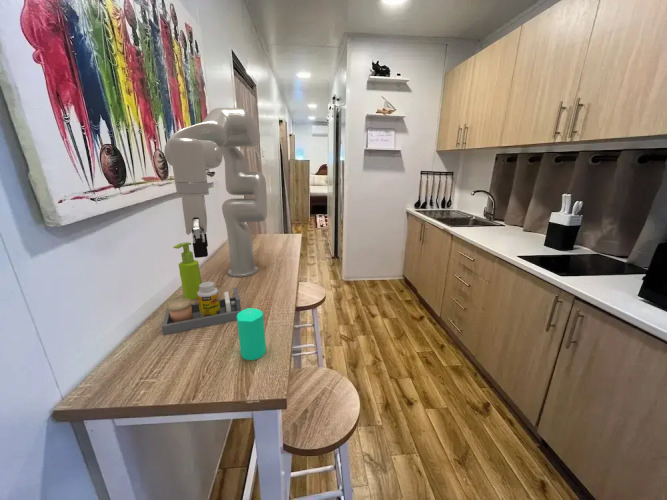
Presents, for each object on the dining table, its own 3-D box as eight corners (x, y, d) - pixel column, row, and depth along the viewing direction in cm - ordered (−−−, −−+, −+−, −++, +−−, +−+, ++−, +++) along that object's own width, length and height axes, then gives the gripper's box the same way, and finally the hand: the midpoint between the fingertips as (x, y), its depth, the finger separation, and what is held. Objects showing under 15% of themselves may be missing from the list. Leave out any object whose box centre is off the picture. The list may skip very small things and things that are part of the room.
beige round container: (172, 318, 81) (168, 300, 79) (194, 314, 83) (191, 296, 81) (170, 329, 76) (166, 309, 74) (193, 324, 78) (190, 305, 76)
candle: (239, 348, 69) (234, 305, 66) (263, 342, 72) (260, 300, 68) (242, 363, 64) (237, 317, 61) (268, 356, 66) (264, 311, 63)
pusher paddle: (225, 306, 88) (224, 292, 86) (229, 305, 88) (228, 291, 87) (227, 319, 80) (225, 303, 79) (231, 318, 81) (230, 302, 79)
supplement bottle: (202, 322, 79) (197, 289, 76) (199, 314, 83) (194, 283, 80) (222, 317, 82) (218, 285, 79) (218, 309, 86) (214, 279, 83)
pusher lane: (169, 318, 83) (165, 297, 81) (238, 305, 91) (236, 286, 89) (164, 338, 73) (159, 314, 71) (242, 322, 81) (240, 300, 79)
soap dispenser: (178, 302, 93) (167, 245, 87) (194, 293, 99) (185, 240, 94) (191, 304, 91) (181, 246, 86) (207, 296, 97) (199, 241, 92)
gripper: (179, 187, 78) (188, 245, 83) (172, 192, 63) (184, 263, 68) (208, 186, 81) (215, 242, 86) (208, 191, 66) (217, 259, 71)
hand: (201, 251), depth 77 cm, fingers open, 9 cm apart
